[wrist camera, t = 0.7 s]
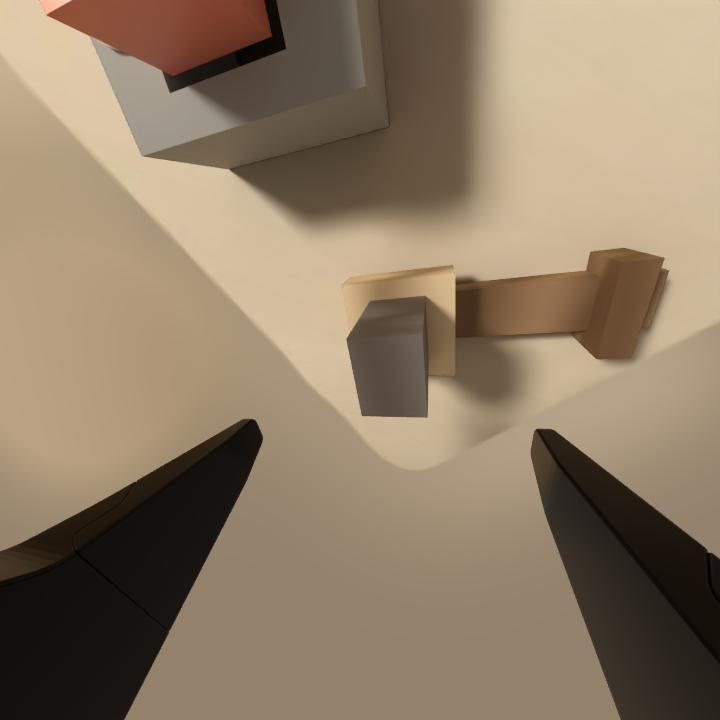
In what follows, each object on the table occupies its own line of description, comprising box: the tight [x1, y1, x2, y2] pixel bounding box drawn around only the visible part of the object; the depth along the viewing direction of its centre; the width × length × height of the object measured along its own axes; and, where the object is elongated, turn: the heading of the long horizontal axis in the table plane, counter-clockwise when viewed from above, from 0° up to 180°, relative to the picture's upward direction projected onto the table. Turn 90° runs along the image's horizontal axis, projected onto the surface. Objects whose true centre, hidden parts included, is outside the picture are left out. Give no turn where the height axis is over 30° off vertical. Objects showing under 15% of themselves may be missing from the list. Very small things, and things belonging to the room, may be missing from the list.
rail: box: [455, 248, 669, 359], centre depth 16 cm, size 16×5×3 cm, turn 100°
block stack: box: [341, 265, 455, 418], centre depth 15 cm, size 6×6×7 cm
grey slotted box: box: [90, 0, 389, 169], centre depth 11 cm, size 10×8×6 cm
